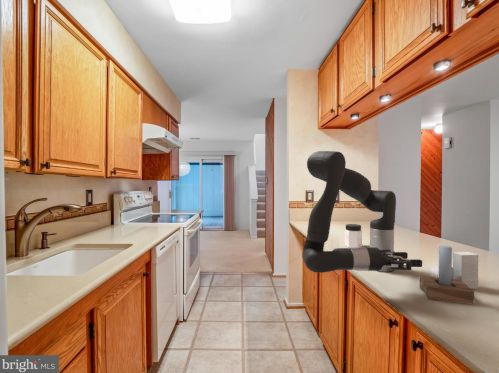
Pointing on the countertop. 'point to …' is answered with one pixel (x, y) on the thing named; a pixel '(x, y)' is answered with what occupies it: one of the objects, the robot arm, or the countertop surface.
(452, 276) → the short pin
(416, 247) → the countertop surface
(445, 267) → the long pin
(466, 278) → the skincare box
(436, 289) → the socket block
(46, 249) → the countertop surface
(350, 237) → the jar
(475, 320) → the countertop surface
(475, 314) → the countertop surface
